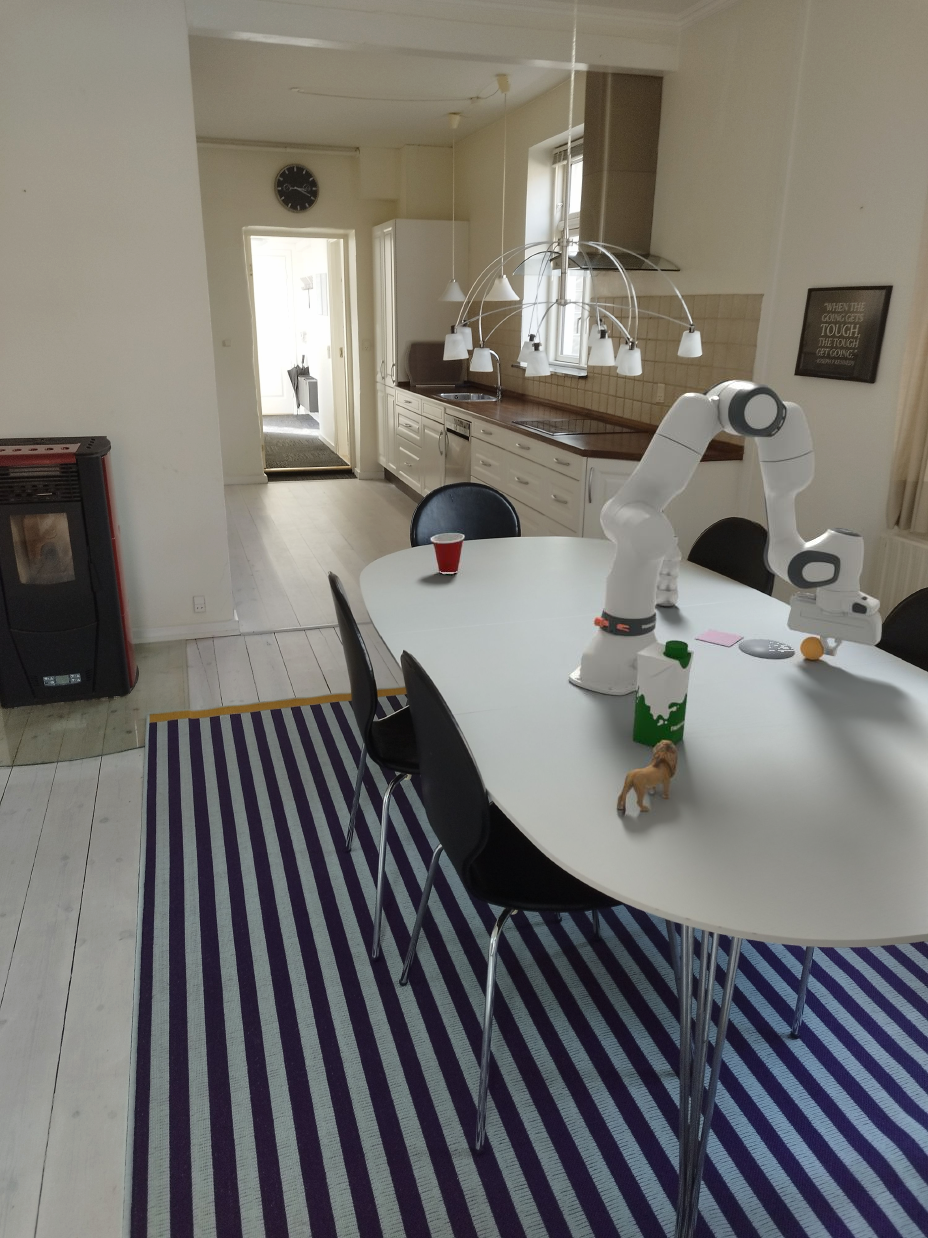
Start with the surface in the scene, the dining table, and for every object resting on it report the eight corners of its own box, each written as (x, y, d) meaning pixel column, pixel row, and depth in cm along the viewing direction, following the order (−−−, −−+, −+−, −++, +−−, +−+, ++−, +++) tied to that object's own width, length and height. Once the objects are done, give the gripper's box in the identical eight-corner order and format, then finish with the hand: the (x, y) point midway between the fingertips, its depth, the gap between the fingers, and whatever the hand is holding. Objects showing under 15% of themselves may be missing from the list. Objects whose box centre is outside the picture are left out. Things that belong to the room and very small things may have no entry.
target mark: (783, 663, 200) (783, 662, 200) (729, 650, 208) (730, 649, 208) (802, 647, 210) (802, 647, 210) (750, 636, 218) (750, 635, 218)
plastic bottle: (678, 609, 238) (684, 539, 232) (653, 607, 239) (658, 538, 233) (677, 602, 244) (683, 534, 238) (653, 601, 245) (658, 533, 239)
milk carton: (668, 755, 157) (678, 653, 151) (625, 740, 163) (632, 642, 156) (689, 738, 164) (699, 640, 157) (647, 724, 169) (654, 629, 163)
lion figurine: (654, 779, 149) (658, 732, 146) (682, 789, 146) (686, 742, 143) (608, 813, 138) (612, 763, 136) (637, 825, 135) (641, 774, 132)
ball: (824, 643, 198) (801, 635, 201) (817, 665, 199) (794, 656, 202) (831, 639, 202) (808, 631, 205) (824, 660, 204) (801, 652, 207)
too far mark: (729, 647, 210) (729, 646, 210) (695, 639, 216) (695, 638, 216) (743, 637, 217) (743, 636, 217) (710, 629, 222) (710, 629, 222)
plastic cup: (426, 569, 276) (426, 533, 272) (458, 567, 279) (458, 531, 275) (435, 578, 266) (435, 541, 262) (468, 576, 269) (469, 538, 265)
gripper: (786, 593, 199) (780, 649, 204) (879, 610, 187) (871, 668, 191) (796, 587, 204) (789, 641, 208) (887, 603, 192) (879, 660, 196)
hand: (829, 654), depth 200 cm, fingers closed
